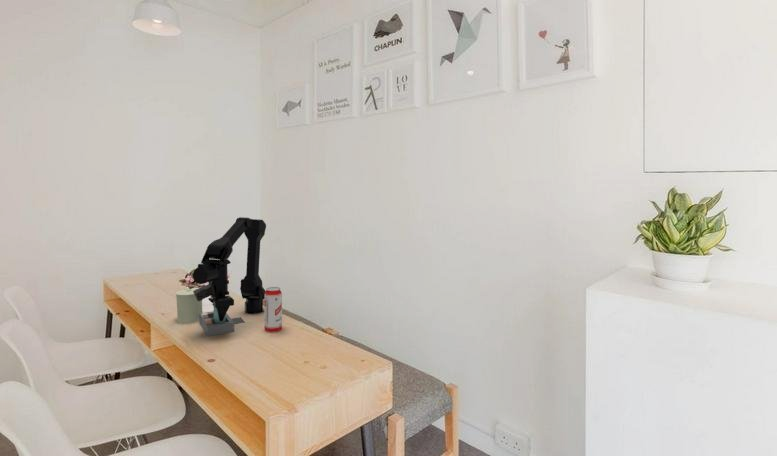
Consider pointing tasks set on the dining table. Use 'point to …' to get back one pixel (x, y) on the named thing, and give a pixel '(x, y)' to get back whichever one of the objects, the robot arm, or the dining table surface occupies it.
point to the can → (188, 306)
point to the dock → (214, 329)
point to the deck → (238, 320)
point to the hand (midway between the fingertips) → (219, 319)
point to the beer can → (273, 309)
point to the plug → (216, 318)
